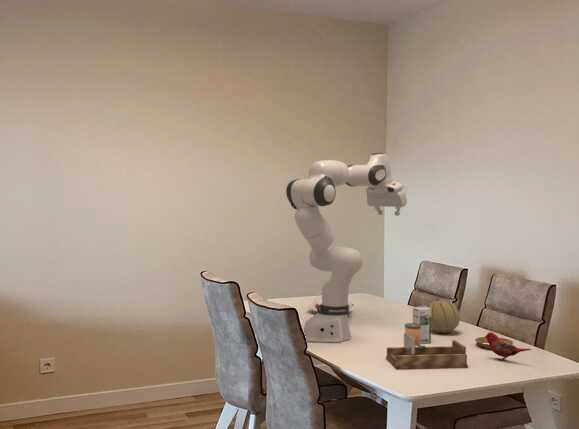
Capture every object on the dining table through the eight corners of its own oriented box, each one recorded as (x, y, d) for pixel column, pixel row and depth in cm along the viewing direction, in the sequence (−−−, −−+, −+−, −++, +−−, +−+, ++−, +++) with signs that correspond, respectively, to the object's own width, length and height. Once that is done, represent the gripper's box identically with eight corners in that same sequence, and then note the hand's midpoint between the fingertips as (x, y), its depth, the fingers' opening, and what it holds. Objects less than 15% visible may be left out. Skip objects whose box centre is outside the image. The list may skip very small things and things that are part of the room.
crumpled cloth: (342, 303, 341) (339, 287, 340) (370, 315, 308) (367, 297, 307) (301, 312, 334) (299, 296, 333) (325, 326, 301) (323, 307, 300)
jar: (407, 354, 243) (407, 326, 242) (402, 350, 249) (402, 323, 249) (422, 354, 244) (423, 326, 243) (417, 349, 250) (418, 322, 249)
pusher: (411, 363, 225) (411, 338, 225) (403, 357, 234) (404, 333, 234) (428, 363, 226) (429, 338, 225) (420, 356, 235) (420, 332, 235)
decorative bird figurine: (485, 356, 241) (486, 330, 240) (532, 365, 229) (533, 338, 229) (482, 358, 239) (482, 331, 238) (529, 366, 227) (530, 339, 227)
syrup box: (418, 343, 260) (419, 308, 259) (412, 340, 265) (412, 306, 265) (431, 343, 261) (431, 308, 261) (424, 339, 267) (425, 305, 266)
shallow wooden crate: (396, 369, 222) (397, 349, 222) (386, 358, 236) (386, 340, 236) (467, 367, 225) (468, 348, 225) (453, 357, 239) (453, 339, 239)
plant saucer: (488, 352, 247) (488, 346, 247) (467, 344, 261) (467, 337, 261) (520, 350, 251) (521, 344, 251) (498, 341, 266) (498, 335, 265)
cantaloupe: (458, 337, 271) (459, 303, 271) (423, 334, 276) (424, 300, 276) (460, 330, 285) (461, 297, 285) (427, 327, 290) (428, 295, 290)
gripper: (361, 188, 295) (367, 216, 299) (398, 188, 281) (403, 218, 284) (369, 184, 299) (374, 211, 303) (406, 184, 285) (411, 213, 289)
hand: (389, 214), depth 293 cm, fingers open, 8 cm apart
